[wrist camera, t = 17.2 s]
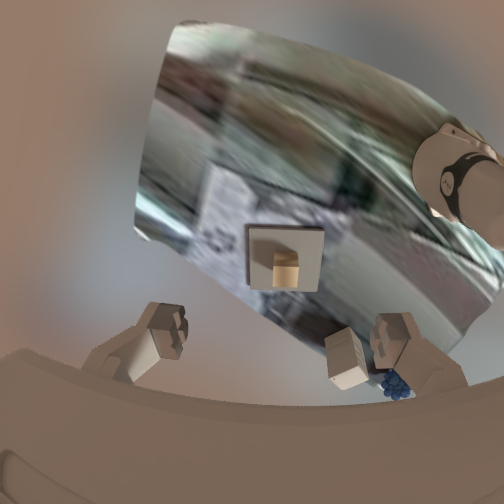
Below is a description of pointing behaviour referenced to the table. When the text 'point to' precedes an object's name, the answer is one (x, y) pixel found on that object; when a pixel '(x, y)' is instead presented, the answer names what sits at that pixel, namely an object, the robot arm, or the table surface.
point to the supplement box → (345, 359)
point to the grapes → (395, 386)
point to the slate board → (285, 240)
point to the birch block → (285, 269)
